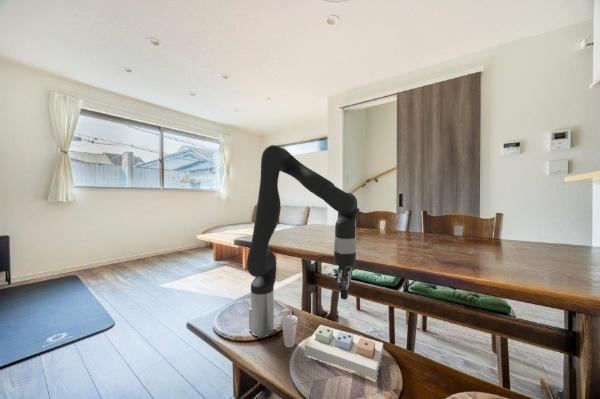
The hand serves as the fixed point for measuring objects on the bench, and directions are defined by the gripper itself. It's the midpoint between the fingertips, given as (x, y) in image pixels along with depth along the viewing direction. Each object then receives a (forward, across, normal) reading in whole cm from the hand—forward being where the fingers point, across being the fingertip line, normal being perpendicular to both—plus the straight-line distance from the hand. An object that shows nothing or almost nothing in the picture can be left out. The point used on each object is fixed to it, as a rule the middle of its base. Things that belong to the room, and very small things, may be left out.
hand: (344, 298), depth 82 cm
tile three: (+19, +1, +1) cm, 19 cm away
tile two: (+19, +1, -7) cm, 21 cm away
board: (+20, +1, +1) cm, 20 cm away
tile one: (+19, +1, +8) cm, 21 cm away
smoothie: (+20, +5, -19) cm, 28 cm away
